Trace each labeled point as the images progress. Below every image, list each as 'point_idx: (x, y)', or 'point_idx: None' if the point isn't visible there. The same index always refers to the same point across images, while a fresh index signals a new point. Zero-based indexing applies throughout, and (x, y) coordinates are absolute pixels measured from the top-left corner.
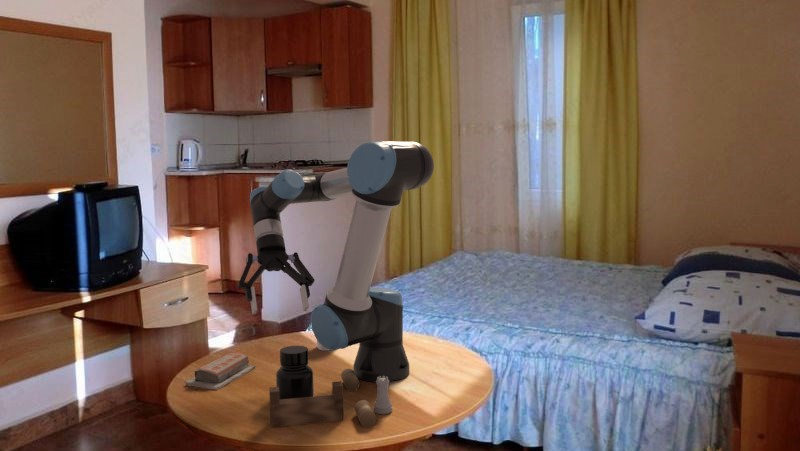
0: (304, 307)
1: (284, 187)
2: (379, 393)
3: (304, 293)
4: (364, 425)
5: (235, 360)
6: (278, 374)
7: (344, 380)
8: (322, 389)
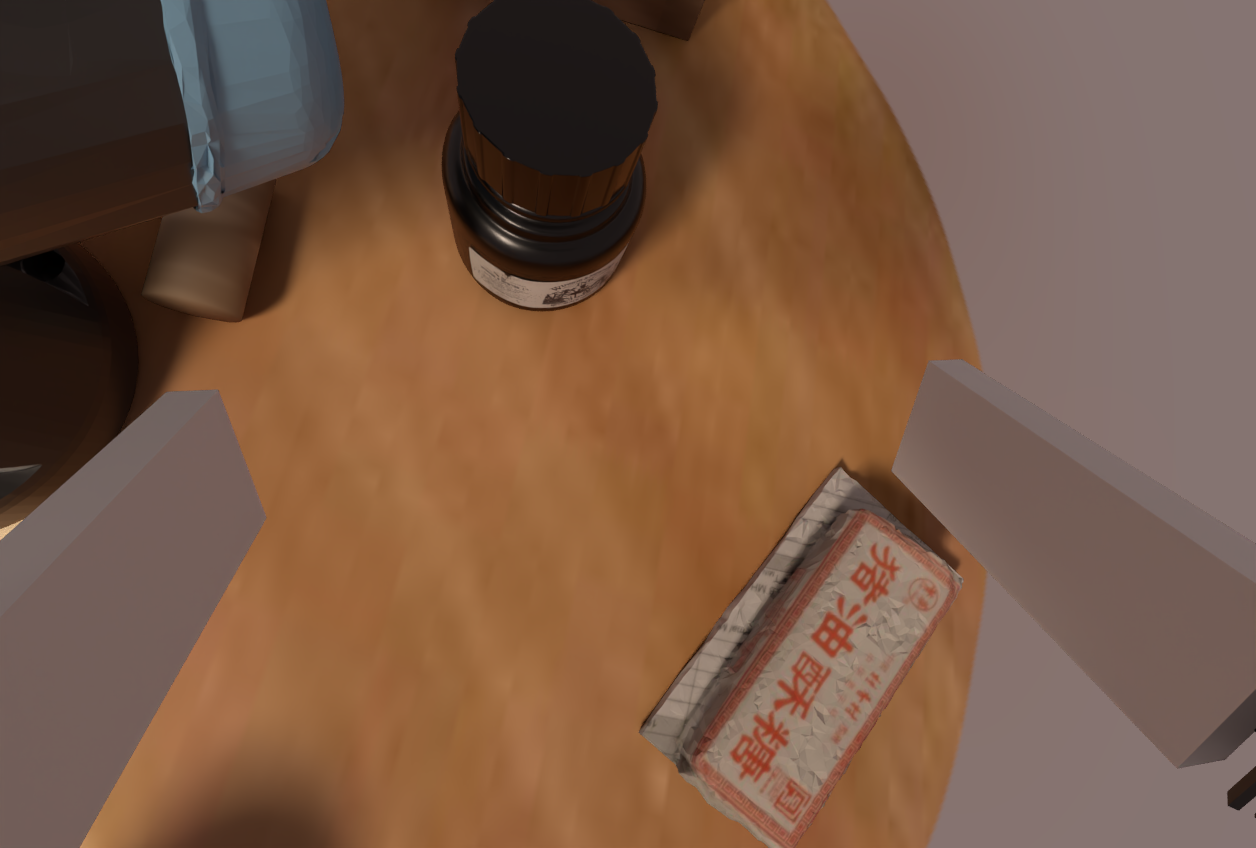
0: (233, 478)
1: None
2: None
3: (33, 567)
4: None
5: (774, 680)
6: (642, 160)
7: (257, 202)
8: (388, 270)
